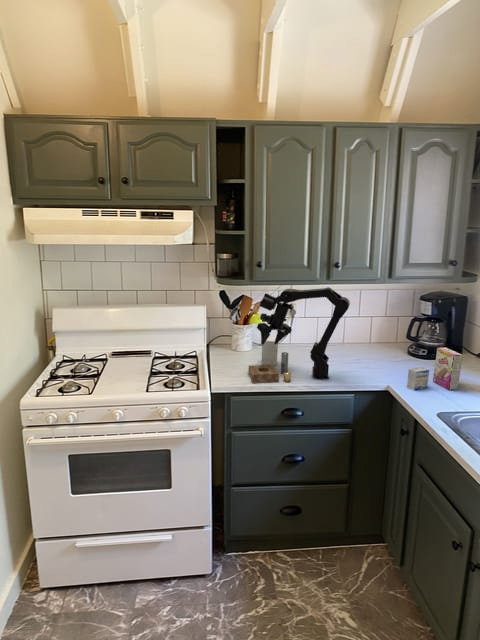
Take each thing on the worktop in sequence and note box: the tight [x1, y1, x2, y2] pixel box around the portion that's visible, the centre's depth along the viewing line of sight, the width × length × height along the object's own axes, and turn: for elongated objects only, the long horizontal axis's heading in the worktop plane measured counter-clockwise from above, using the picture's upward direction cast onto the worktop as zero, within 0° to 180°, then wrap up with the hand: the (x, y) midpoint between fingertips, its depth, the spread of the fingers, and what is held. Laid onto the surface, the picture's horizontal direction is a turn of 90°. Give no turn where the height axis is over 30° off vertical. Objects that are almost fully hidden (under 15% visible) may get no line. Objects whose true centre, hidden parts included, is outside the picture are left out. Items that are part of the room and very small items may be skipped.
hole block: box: [247, 364, 280, 384], centre depth 216 cm, size 12×12×4 cm
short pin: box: [283, 371, 292, 383], centre depth 213 cm, size 3×3×4 cm
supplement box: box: [260, 336, 279, 367], centre depth 235 cm, size 7×7×13 cm
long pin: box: [280, 351, 289, 375], centre depth 222 cm, size 3×3×10 cm
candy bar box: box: [432, 346, 464, 391], centre depth 210 cm, size 11×5×16 cm, turn 17°
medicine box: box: [406, 366, 430, 391], centre depth 208 cm, size 8×4×9 cm, turn 114°
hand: (268, 344), depth 224 cm, fingers open, 9 cm apart
